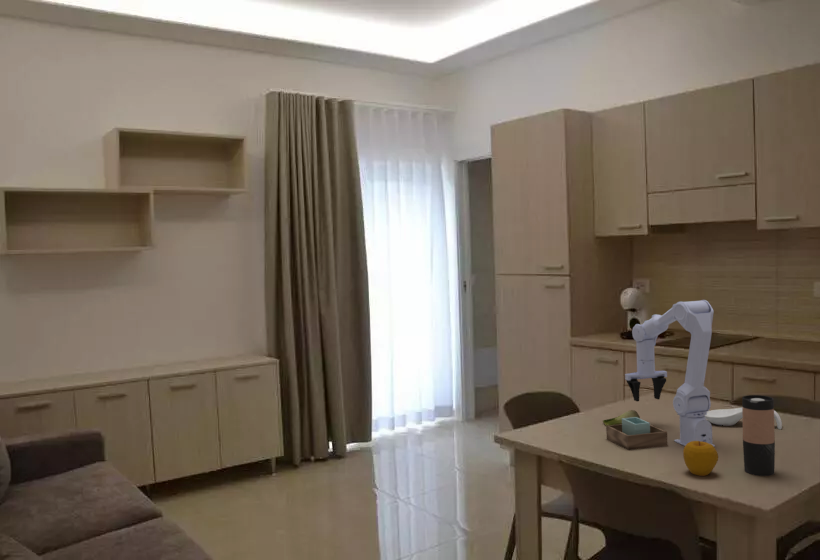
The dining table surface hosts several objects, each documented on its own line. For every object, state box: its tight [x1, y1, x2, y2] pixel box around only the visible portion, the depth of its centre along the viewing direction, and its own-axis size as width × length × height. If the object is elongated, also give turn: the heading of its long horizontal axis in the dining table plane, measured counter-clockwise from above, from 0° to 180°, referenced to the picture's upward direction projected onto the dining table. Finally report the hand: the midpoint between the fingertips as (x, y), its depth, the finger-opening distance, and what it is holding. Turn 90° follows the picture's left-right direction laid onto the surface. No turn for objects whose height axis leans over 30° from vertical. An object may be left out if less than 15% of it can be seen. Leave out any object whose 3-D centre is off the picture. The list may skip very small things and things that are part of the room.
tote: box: [622, 417, 651, 435], centre depth 219 cm, size 5×8×6 cm, turn 12°
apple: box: [682, 441, 719, 477], centre depth 187 cm, size 9×8×9 cm
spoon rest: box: [705, 407, 783, 430], centre depth 234 cm, size 24×12×7 cm, turn 61°
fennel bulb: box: [602, 409, 641, 426], centre depth 240 cm, size 6×5×12 cm
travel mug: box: [741, 394, 776, 477], centre depth 186 cm, size 8×8×20 cm
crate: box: [605, 424, 668, 451], centre depth 219 cm, size 13×13×4 cm
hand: (646, 399), depth 236 cm, fingers open, 7 cm apart
